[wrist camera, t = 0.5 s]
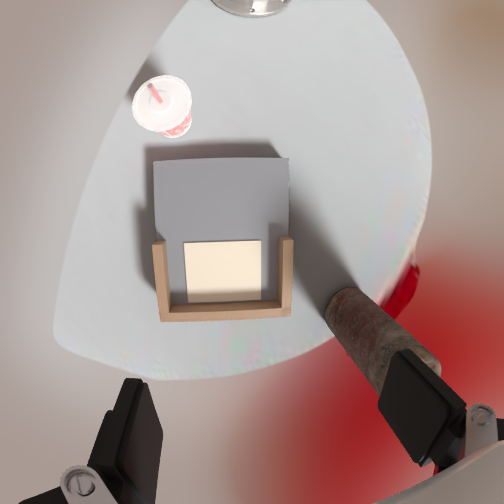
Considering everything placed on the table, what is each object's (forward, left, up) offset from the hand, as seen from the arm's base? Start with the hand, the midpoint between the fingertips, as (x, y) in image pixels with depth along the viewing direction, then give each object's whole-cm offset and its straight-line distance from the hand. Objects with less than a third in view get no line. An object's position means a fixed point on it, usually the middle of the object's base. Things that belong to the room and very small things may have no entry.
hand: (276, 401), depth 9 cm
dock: (-1, -1, -29) cm, 29 cm away
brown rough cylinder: (+11, +17, -29) cm, 35 cm away
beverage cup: (-16, -7, -29) cm, 34 cm away
